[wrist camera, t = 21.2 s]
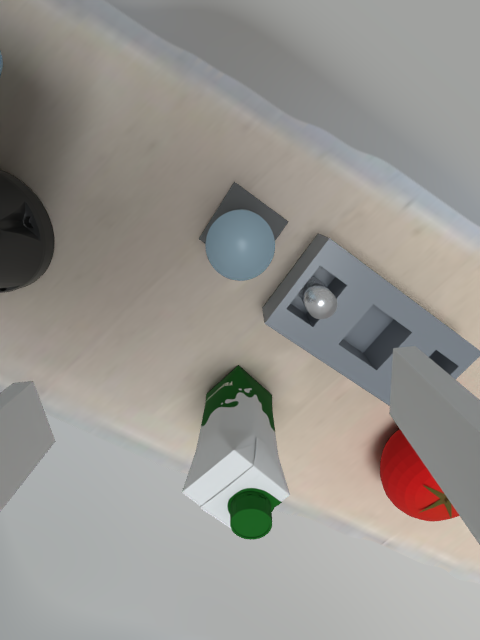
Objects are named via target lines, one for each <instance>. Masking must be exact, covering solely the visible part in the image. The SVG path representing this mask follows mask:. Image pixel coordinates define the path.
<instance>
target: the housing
mask: <svg viewBox="0 0 480 640" xmlns="http://www.w3.org/2000/svg"><path fill="white" fill-rule="evenodd" d="M311 277H315V278H317V279H319V280H320V281H321V282H322V283H323V284H324V285H325V286H326V287H327V288H328V289H329V290H330V291H331V292H332V293H333V294H334V296H335V297H336V299H337V309H336V311H335V312H334V314H333V315H332V316H330V317H328V318H326V319H316V318H314V317H312V316H311V315H310V314H309V312H308V310H307V309H306V307H305V305H304V303H303V302H302V300H301V298H300V296H299V295H298V293H299V292H300V291H301V289H302V288H303V287H304V285H305V284H306V283H307V282H308V280H309V279H310V278H311ZM262 309H263V316H264V322H265V324H266V325H268V326H269V327H271V328H272V329H274V330H275V331H277V332H278V333H280V334H281V335H283V336H284V337H286V338H287V339H289V340H290V341H292V342H293V343H295V344H297V345H298V346H300V347H301V348H303V349H304V350H306V351H307V352H309V353H310V354H312V355H313V356H315V357H316V358H318V359H319V360H321V361H322V362H324V363H325V364H327V365H328V366H330V367H331V368H333V369H334V370H336V371H337V372H339V373H341V374H342V375H344V376H345V377H347V378H348V379H350V380H351V381H353V382H354V383H356V384H357V385H359V386H360V387H362V388H363V389H365V390H366V391H368V392H369V393H371V394H372V395H374V396H375V397H377V398H378V399H380V400H382V401H383V402H385V403H386V404H388V405H389V406H390V396H391V378H392V361H393V348H400V347H411V346H416V347H417V348H418V349H419V350H421V351H422V352H423V353H424V354H425V355H427V356H428V357H429V358H430V359H431V360H433V361H434V362H435V363H436V364H437V365H438V366H440V367H441V368H442V369H443V370H444V371H446V372H447V373H448V374H449V375H450V376H452V377H453V378H454V379H456V378H457V377H458V376H460V375H461V374H462V373H463V372H464V371H465V370H466V369H467V368H468V367H469V366H470V365H471V364H472V363H473V362H474V361H475V360H476V359H477V358H478V357H479V356H480V350H478V349H477V348H476V347H474V346H473V345H472V344H470V343H469V342H468V341H466V340H465V339H464V338H462V337H461V336H460V335H458V334H457V333H456V332H454V331H453V330H452V329H450V328H449V327H448V326H446V325H445V324H443V323H442V322H441V321H439V320H438V319H437V318H435V317H434V316H433V315H431V314H430V313H429V312H427V311H426V310H425V309H423V308H422V307H421V306H419V305H418V304H417V303H415V302H414V301H413V300H411V299H410V298H409V297H407V296H406V295H405V294H403V293H402V292H401V291H399V290H398V289H397V288H395V287H394V286H393V285H391V284H390V283H389V282H387V281H386V280H385V279H383V278H382V277H381V276H379V275H378V274H377V273H375V272H374V271H373V270H371V269H370V268H369V267H367V266H366V265H365V264H363V263H362V262H361V261H359V260H358V259H357V258H355V257H354V256H353V255H351V254H350V253H349V252H347V251H346V250H345V249H343V248H342V247H341V246H339V245H338V244H337V243H335V242H334V241H333V240H331V239H330V238H328V237H325V236H323V235H321V234H317V236H316V237H315V238H314V240H313V241H312V242H311V244H310V245H309V246H308V248H307V249H306V250H305V252H304V253H303V254H302V256H301V257H300V258H299V260H298V261H297V262H296V264H295V265H294V266H293V268H292V269H291V270H290V272H289V273H288V274H287V276H286V277H285V279H284V280H283V281H282V283H281V284H280V285H279V287H278V288H277V289H276V291H275V292H274V293H273V295H272V296H271V297H270V299H269V300H268V301H267V303H266V304H265V305H264V307H263V308H262Z"/></svg>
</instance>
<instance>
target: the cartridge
mask: <svg viewBox="0 0 480 640" xmlns="http://www.w3.org/2000/svg"><path fill="white" fill-rule="evenodd" d="M274 251H275V240H274V235H273V232H272V230H271V228H270V226H269V225H268V223H267V222H266V221H265V220H264V219H263V218H262V217H260V216H259V215H258V214H256V213H254V212H252V211H249V210H246V209H239V210H233V211H230V212H227V213H225V214H223V215H222V216H220V217H219V218H218V219H217V220H216V221H215V222H214V223H213V224H212V226H211V227H210V229H209V231H208V234H207V238H206V253H207V256H208V259H209V261H210V263H211V265H212V266H213V268H214V269H215V270H216V271H217V272H218V273H220V274H221V275H222V276H224V277H226V278H229V279H232V280H239V281H241V280H249V279H252V278H254V277H256V276H258V275H260V274H261V273H262V272H264V271H265V269H266V268H267V267H268V266H269V264H270V263H271V261H272V258H273V255H274Z"/></svg>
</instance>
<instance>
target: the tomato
mask: <svg viewBox="0 0 480 640" xmlns="http://www.w3.org/2000/svg"><path fill="white" fill-rule="evenodd" d="M380 476H381V481H382V484H383V488H384V490H385V493H386V495H387V496H388V498H389V499H390V500H391V501H392V503H393V504H394V505H395V506H396V507H397V508H398V509H400V510H401V511H402V512H404V513H406V514H407V515H409V516H411V517H414V518H417V519H421V520H425V521H441V520H446V519H450V518H454V517H457V516H460V515H459V514H458V513H457V511H456V510H455V508H454V507H453V505H452V504H451V502H450V501H449V499H448V498H447V497H446V495H445V494H444V492H443V491H442V489H441V488H440V486H439V485H438V483H437V482H436V481H435V479H434V478H433V476H432V475H431V473H430V472H429V470H428V469H427V468H426V466H425V465H424V463H423V462H422V460H421V459H420V457H419V456H418V454H417V453H416V452H415V450H414V449H413V447H412V446H411V444H410V443H409V441H408V440H407V439H406V437H405V436H404V434H403V433H402V431H401V430H400V429H399V430H398V431H396V432H395V433H394V434H393V435H392V436H391V437H390V439H389V440H388V442H387V443H386V445H385V447H384V449H383V452H382V456H381V461H380Z"/></svg>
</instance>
